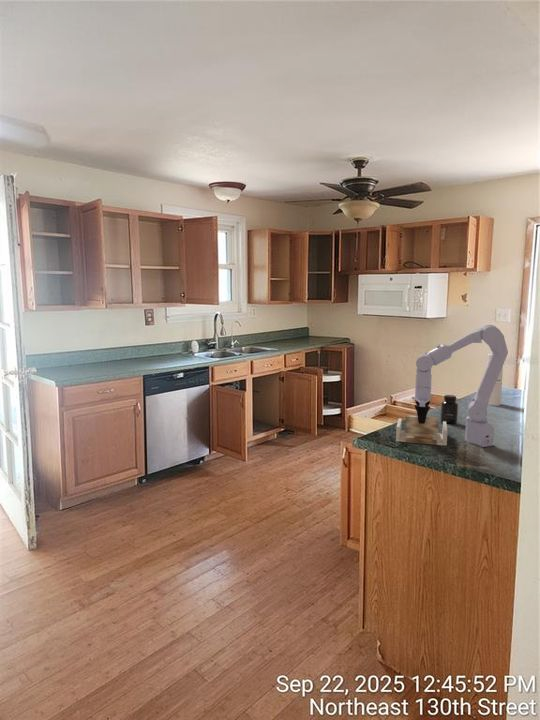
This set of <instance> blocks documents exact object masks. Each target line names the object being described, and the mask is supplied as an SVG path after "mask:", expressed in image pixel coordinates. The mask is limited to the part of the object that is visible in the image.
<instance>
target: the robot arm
mask: <svg viewBox="0 0 540 720" xmlns="http://www.w3.org/2000/svg"><path fill="white" fill-rule="evenodd" d="M505 338H506V337H505V335H504V334H503V333H502V331H501V330H500V329H499V328H498V327H497V326H496V325H493V324H487V325H485V326H483V327H482V328H481V327H480V328H477V329H475V330H472V331H471V332H469V333H467V334H465V335H464V336H462V337H460V338H458V339H456V340H455V341H454V342H452V343H450V344H444V343H442V344H438V345H437V344H436V347H435V348H434V349H431V350H430V351H425V352H424V354H421V355H420V356H418V357H417V359H416V362H415V365H416V366H415V367H416V369H415V370H416V371H415V372H416V374H415V388H414V389H415V390H414V396H411V400H414V402H415V404H414V409H415V411H416V416H418V422H419V423H420V424H424V423H425V420H426V417H428V412H429V410H430V409H431V406H430V405H429V404H430V403H431V401H432V393H431V392H432V367H433V366H437V365H439V364H441V363H443V362H445V361H446V360H449V359H451V358H452V355H453V353H455V352H457V351H459V350H461V349H463V348H465V347H467V346H469V345H471V344H482V341H483V342H484V343H485V344H486V345H488V347H489V349H490V351H491V354H492V356H491V358H490V361H489V363H488V366H487V365H486V369H485V371H484V373H483V376H482V378H481V381H480V384H479V386H478V388H477V391H476V393H475V394H474V396H473V398H472V399H471V401H469V402H468V403H467V408H466V409H467V413H468V415H467V416H466V417H465V429H464V430H465V432H464V433H465V435H464V441H465V442H467V443H469V444H470V443H471V444H473V445H476V446H479V447H482V448H486V447H492V446H495V443H494V432H495V431H494V430H495V429H494V426H493V424H491V423H489V422H488V418H487V417H488V416H487V415H488V406H489V405H488V403H489V398H490V396H491V393H492V391H493V388H494V386H495V383H496V381H497V379H498V376H499V374H500V371H501V369H502V367H503V368H504V365H505V362H506V359H507V356H508V353H509V350H508V347H507V344H506V339H505Z"/></svg>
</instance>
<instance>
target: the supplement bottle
mask: <svg viewBox="0 0 540 720" xmlns="http://www.w3.org/2000/svg"><path fill="white" fill-rule="evenodd" d="M456 401H457V396H456V395H453V394H452V395H451V394H445V395H444V398H443V401H442V402H441V403H440V404H441V405H440V406H441V407H440V420H439V421H440V423H441V424H442V423H443V421H445V422H446V424H447V425H449V426H451V425H452V426H456V425H457V423H458V415H459V404H458V402H456ZM455 424H456V425H455Z"/></svg>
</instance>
